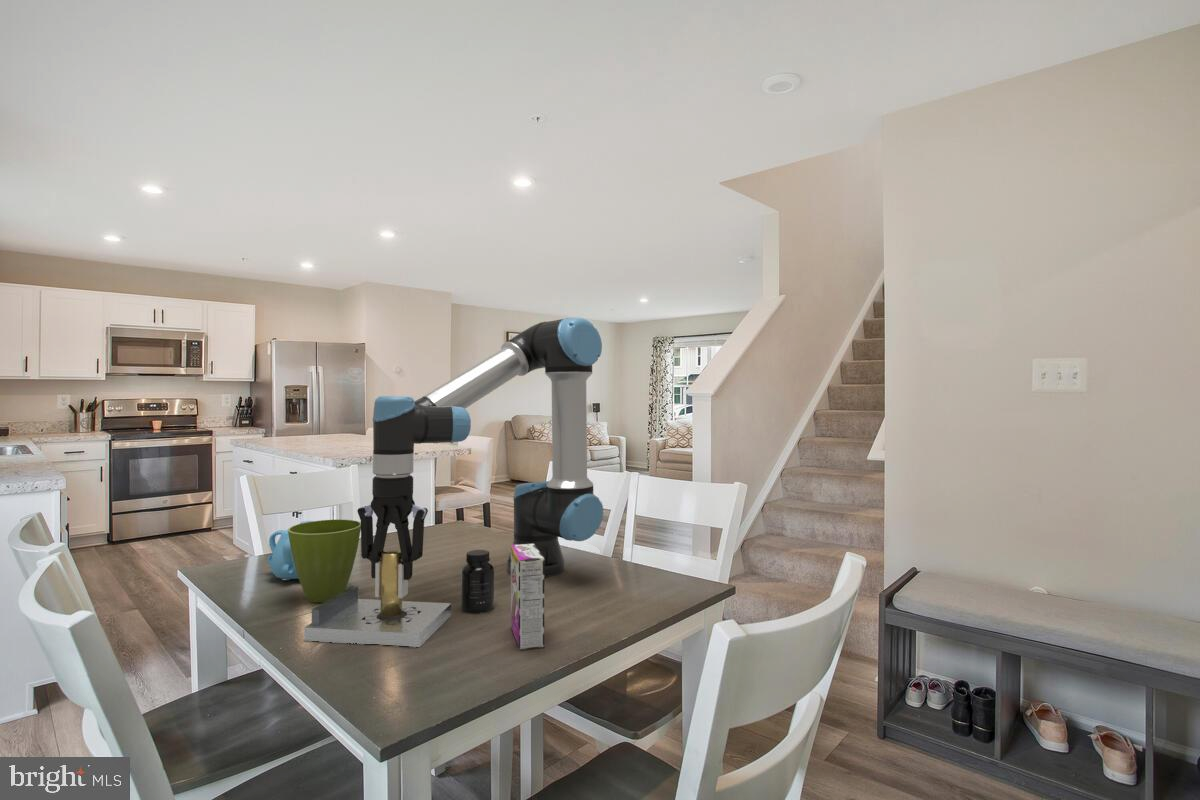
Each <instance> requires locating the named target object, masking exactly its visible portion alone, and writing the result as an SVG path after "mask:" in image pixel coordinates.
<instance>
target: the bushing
mask: <svg viewBox="0 0 1200 800" xmlns="http://www.w3.org/2000/svg"><path fill="white" fill-rule="evenodd" d="M401 562H402V556H401V550H400V548H399V549H397V548H396V549H395V548H393V549H386V550H385V549H384V550H383V551H382V552H381V596H380V600H381V609H380V615H381V616H382V617H395V616H398V615H401V614H402V601H403V598H398V564H400V563H401Z"/></svg>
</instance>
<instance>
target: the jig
mask: <svg viewBox="0 0 1200 800" xmlns="http://www.w3.org/2000/svg"><path fill="white" fill-rule="evenodd" d="M380 609H381V599H369V598H368V599H366V598H359V586H358V585H351V586H349V587H346V589H345V590H344V591H342V592H341V593H339V594H337V595H336V596H334V597H332V598H330V599H329V600H327V601H325V602H321V603H320V604H319V605H317V606H314V607H313V608H312V609H311V623H309V624H308V625H306V626H304V628H303V632H304V634H303V635H304V636H303V641H304V642H312V641H319V642H318V643H329V642H332V643H333V644H347V643H348V644H349V643H351V644H352V645H364V644H383V645H385V644H386V645H401V646H402V645H403V646H410V647H409V648H416V647H419V648H420V647H421V646H423V644H425V643H426V642H427V641H428V639H429V638H430V637H432V636H433V634H434V633H435V632H436V631H437V630H438V629H440V627H441V626H442V625H443V624H444V623H446V621H447V620H448V619H450V617H451V616H452V603H451V602H450V603H449V602H448V603H447V602H431V601H430V602H427V601H425V602H424V601H409V600H408V601H407V600H402V614H401V615H398V616H395V617H382V616H381V615H380ZM353 643H354V644H353ZM355 643H357V644H355ZM348 644H347V645H348ZM351 644H350V645H351ZM411 646H412V647H411Z"/></svg>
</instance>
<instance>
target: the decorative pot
mask: <svg viewBox="0 0 1200 800" xmlns="http://www.w3.org/2000/svg"><path fill="white" fill-rule="evenodd" d="M312 521H313V520H303V521H300V522H299V524H301V523H306V522H312ZM278 535H280V536H279V539H278V541H277V542H276V537H277V536H278ZM268 543H269V546H270V550H271V552H272V553H271V554H270V555H268V557H267V563H268V564H269V565H270V567H269V568H270V570H271V572H272V574H273V575H274V576H275V577H276V578H277V579H278V578H279V579H291V580H294V579H295V580H297V579H298V580H299V578H298V575H297V571H296V568H295V564H294V561H293V557H292V552H291V547H290V541H289V535H288V529H285V530H284V529H281V530H277V531H275V532H273V533H272V534H271V535H270V537H269V541H268Z"/></svg>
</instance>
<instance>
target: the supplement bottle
mask: <svg viewBox="0 0 1200 800" xmlns="http://www.w3.org/2000/svg"><path fill="white" fill-rule="evenodd" d="M465 555H466V556H465V557H466V559H465V560H466V561H465V562H466V564H465V565H464V566H463V567H462V569H461V609H462V610H463V611H464V612H465V613H469V612H470V614H481V612H482V613H486V612H488V611H490V610H492V609H493V608H494V603H495V567H494V565H492V563H490V560H491V559H490V551H488V550H486V549H473V550H469V551H467V552H466V554H465Z"/></svg>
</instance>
